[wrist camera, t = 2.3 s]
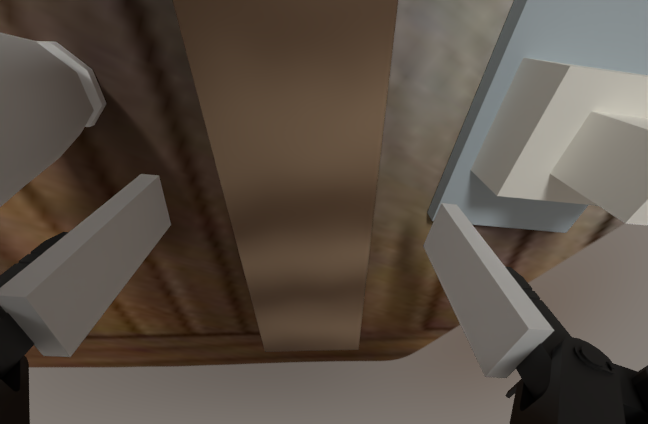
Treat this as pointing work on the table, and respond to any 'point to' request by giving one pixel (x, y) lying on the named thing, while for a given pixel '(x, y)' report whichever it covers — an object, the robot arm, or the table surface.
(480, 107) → the fulcrum
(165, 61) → the table surface
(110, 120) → the table surface
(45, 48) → the cup
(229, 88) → the beam
